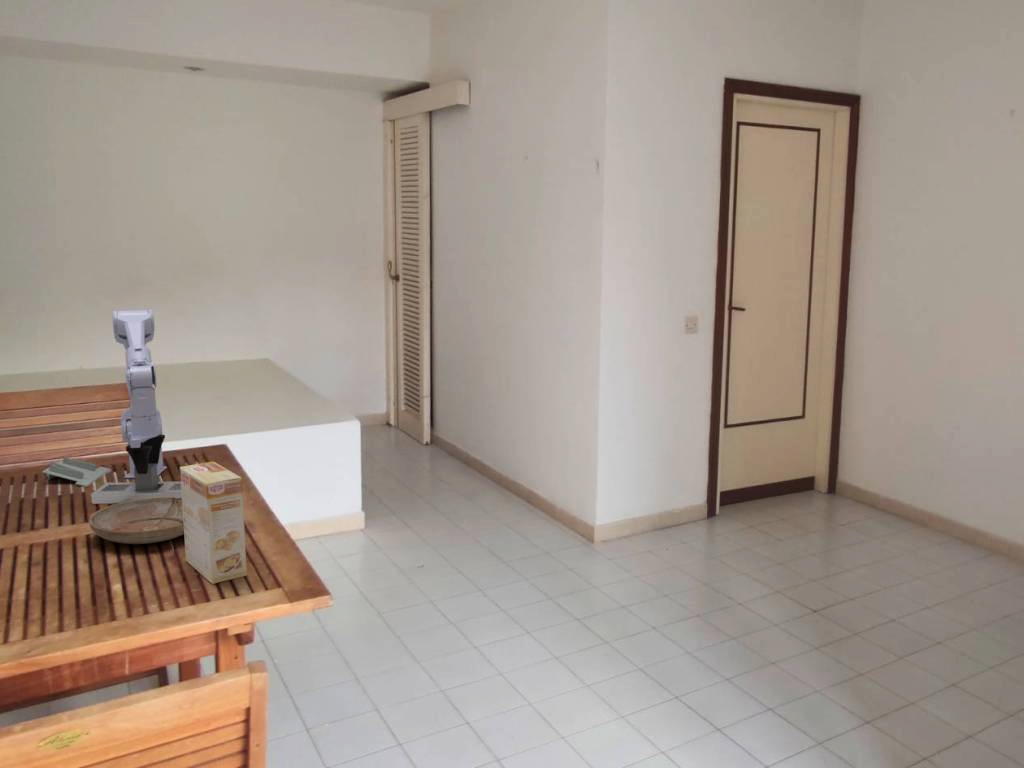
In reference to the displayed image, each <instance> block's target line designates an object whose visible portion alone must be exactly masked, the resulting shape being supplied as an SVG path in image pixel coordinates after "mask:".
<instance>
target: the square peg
mask: <svg viewBox="0 0 1024 768" xmlns="http://www.w3.org/2000/svg"><path fill="white" fill-rule="evenodd" d="M134 476H135V478H134V482H135V488H136V491H153V490H158V482H159V479H158V478H159V477H158V476H159V475H158V476H157V463H156V464H148V472H147V474H138V473H137V471H136V468H134Z"/></svg>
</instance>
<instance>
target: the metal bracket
mask: <svg viewBox="0 0 1024 768" xmlns="http://www.w3.org/2000/svg"><path fill="white" fill-rule="evenodd" d="M110 472H112V469H111V468H109V467H104V466H100V467H98V468H97V465H96V464H95V463H91V462H87V461H84V460H73V459H71V458H70V457H68V456H64V457H63V458H62V459H61V460H60V461H57V462H54V461H50V462H49V467H48V468H46V469H44V470H42V473H44V474H46V475H45V476H46V477H47V481H50V480H51V479H53V478H55V477H58V478H63V479H66V480H70V481H73V482H75V483H74V484H75V485H76V486H80V487H83V488H84V487H85V488H86V487H89V486H90V485H91V484H93V483H94V482H95V481H98V480H99V479H100V478H102V477H103V476H105V475H107V474H109V473H110ZM98 478H99V479H98Z"/></svg>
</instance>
